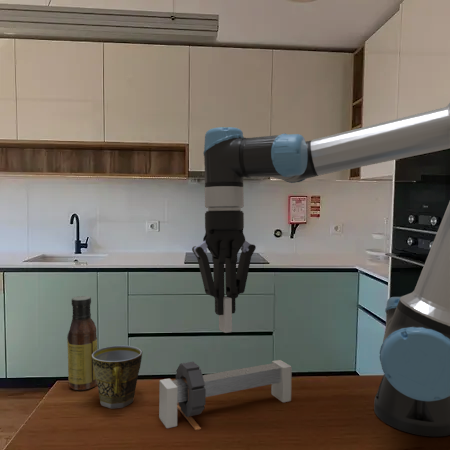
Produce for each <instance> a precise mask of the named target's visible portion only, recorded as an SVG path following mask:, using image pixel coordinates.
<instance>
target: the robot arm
mask: <svg viewBox="0 0 450 450" xmlns="http://www.w3.org/2000/svg"><path fill="white" fill-rule="evenodd" d="M203 149H204V150H203V159H204V160H203V161H204V208H205V209H207V211H206V210H205V212H204V230H205V234H204V236H203V240H202V242H201V243H199V244H198V245H195V246H193V247H192V248H191V250H192V252H193V254H194V256H195V257H196V259H197V263H198V268H199V272H200V277H201V279H202V282H203V283H202V284H203V290H204V293H205V294H206V295H208V296H211V297H213V298H214V312H215V314H216V315H217V316H218V330H219V331H221V332H223V333H225V334H227V333H232V332H233V319H232V317H233V315H232V314H235V313H236V299H237V298H238V297H239V295H240V294H244V293H245V289H246V286H247V285H246V284H247V280H248V275H249V269H250V266H251V265H250V264H251V260H252V256H253V254H254V253H255V250H256V247H257V246H256V245H255V244H254V243H253V244H252V243H250V242H248V241H247V240H246V236H245V234H244V227H245V216H244V215H245V214H244V211H243V210H241V208H244V203H245V202H244V199H245V198H244V179H251V178H274V179H278V180H282V181H284V182H285V183H291V184H295V183H300V182H304V181H305V180H307V179H311V178H315V177H318V176H322V175H328V174H332V173H333V174H334V173H339V172H343V171H347V170H348V171H349V170H353V169H357V168H362V167H367V166H371V165H372V166H373V165H375V164H376V165H377V164H382V163H386V162H391V161H392V162H393V161H396V160H400V159H401V160H402V159H405V158H406V159H407V158H411V157H414V156H415V157H416V156H420V155H424V154H429V153H430V154H431V153H435V152H439V151H443V150H448V149H450V102H449V103H448V104H447V105H446V106H444V107H440V108H435V109H432V110H428V111H424V112H421V113H417V114H412V115H408V116H403V117H399V118H395V119H392V120H388V121H384V122H379V123H376V124H371V125H367V126H364V127H360V128H355V129H352V130H347V131H343V132H338V133H334V134H331V135H326V136H323V137H317V138H314V139H311V140H307V141H306V140H305V137H304V136H303V135H302V134H299V133H292V134H288V133H281V134H276V135H265V136H256V137H255V136H254V137H244V132H243V131H242V129H241V128H238V127H231V126H228V127H224V126H222V127H221V126H220V127H213V128H209V130H207V131H206V133H205V135H204V147H203ZM208 251H209V252H210V254H211V255H212V256H211V257H212V258H211V259H212V264H213V274H212V270H211V265H210V261H209V257H208ZM240 251H241V252H240ZM239 252H240V255H239V260H238V253H239ZM237 262H238V264H237ZM415 285H416V286H415V287H414V290H413V291H412V292H410V293H407V294H405V295H401V296H392V297H389V298H388V299H387V301H386V308H385V309H384V310H385V313H386V316H385V331H384V334H383V340H382V343H381V346H380V349H379V361H380V365H381V370H382V372H383V376H382V378H381V381H380V383H379V386H378V389H377V392H376V394H375V397H374V403H373V405H374V407H373V409H374V413H375V415H376V416H377V418H378V419H379V420H380V421H382V422H383V423H384V424H386V425H388V426H390V427H392V428H394V429H396V430H399V431H402V432H405V433H408V434H413V435H415V436H422V437H433V438H434V437H435V438H437V437H438V438H440V437H448V436H450V201H449V202H448V205H447V207H446V210H445V212H444V215H443V216H442V219H441V222H440V224H439V227H438V229H437V232H436V235H435V236H434V239H433V242H432V245H431V248H430V250H429V253H428V255H427V257H426V259H425V263H424V264H423V268H422V270H421V272H420V275H419V277H418V280H417V283H416V284H415Z"/></svg>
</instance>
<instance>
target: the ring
mask: <svg viewBox="0 0 450 450" xmlns="http://www.w3.org/2000/svg"><path fill="white" fill-rule="evenodd" d="M175 372H176V373H175V380H178V379H183V378H186V381H187V385H188V389H189V401H183V402H178V406H179V407H181V411H182V412H183V413H184V414H185V416H186V417H189V416H191V417H193V416H197V415H201V414H202V412H203V411H204V410H205V408H206V407H205V406H206V398H207V397H206V389H205V388H204V386H205V383H204V379H203V376H202V375H203V373H202V369H201V368H200V366H199V365H198V364H197V363H196V362H195V361H188V362H183V363H179V366H178V367H177V369H176V371H175Z"/></svg>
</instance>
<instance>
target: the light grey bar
mask: <svg viewBox="0 0 450 450" xmlns="http://www.w3.org/2000/svg"><path fill="white" fill-rule="evenodd" d="M202 376H203V379H204V383H205V386H204V388H205V389H206V398H208V397H213V396H219V395H224V394H228V393H233V392H239V391H244V390H249V389H254V388H258V387H264V386H269V385H270V386H271V385H272V384H275V383H280V382H281V377H282V368H281V367H279V366H278V365H276V364H274V363H272V362H271V363H267V364H260V365H254V366H250V367H249V366H248V367H243V368H237V369H231V370H225V371H221V372H215V373H208V374H204V375H203V374H202ZM171 380H172V382H173V383H174V384H175V385H176V386H177V387H178V392H177V404H179V402H183V401H189V389H188V385H187V381H186V378H183V379H178V380H176V379H174V380H173V379H171Z"/></svg>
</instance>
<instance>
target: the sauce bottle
mask: <svg viewBox="0 0 450 450" xmlns="http://www.w3.org/2000/svg"><path fill="white" fill-rule="evenodd" d="M91 305H92V297H91V296H89V295H81V296H79V295H78V296H73V297H72V298H71V306H72V316H71V317H72V319H71V324H70V327H69V330H68V333H67V335H66V336H67V337H66V338H67V339H66V340H67V370H68V371H67V373H68V374H67V377H68V382H69V383H68V384H69V387H70V388H71V389H72V390H75V391H85V390H91V389H92V388H95V387H96V386H98V385H97V379H96V376H95V372H94V367H93V361H92V354H93V353H94V352H95V351H97V350H98V337H97V326H96V323H95V322H94V320H93V319H92V316H91V315H92V314H91Z"/></svg>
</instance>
